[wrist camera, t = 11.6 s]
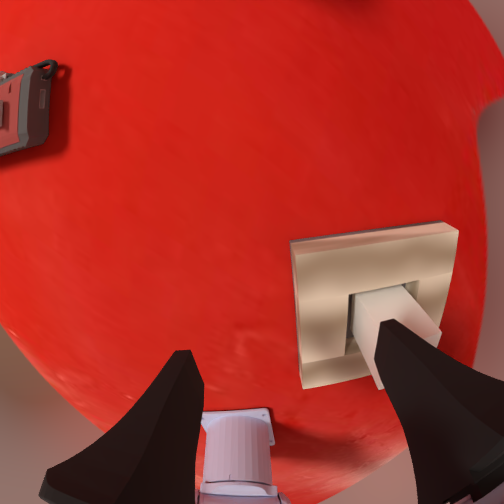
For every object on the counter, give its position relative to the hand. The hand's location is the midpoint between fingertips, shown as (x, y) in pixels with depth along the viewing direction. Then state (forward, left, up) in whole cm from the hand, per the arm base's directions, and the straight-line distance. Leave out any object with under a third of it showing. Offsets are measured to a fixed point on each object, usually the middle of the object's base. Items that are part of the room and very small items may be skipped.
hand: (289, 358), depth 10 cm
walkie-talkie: (+17, +23, -11) cm, 31 cm away
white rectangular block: (-6, -8, -10) cm, 14 cm away
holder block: (-6, -8, -10) cm, 14 cm away
